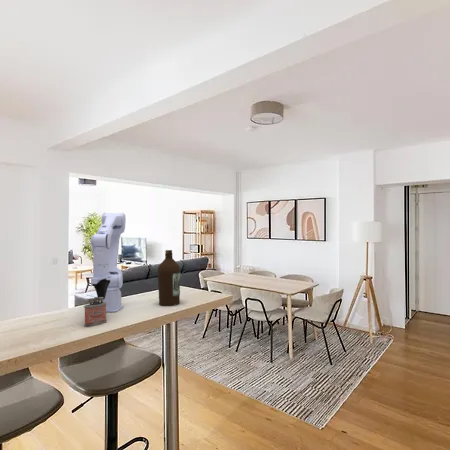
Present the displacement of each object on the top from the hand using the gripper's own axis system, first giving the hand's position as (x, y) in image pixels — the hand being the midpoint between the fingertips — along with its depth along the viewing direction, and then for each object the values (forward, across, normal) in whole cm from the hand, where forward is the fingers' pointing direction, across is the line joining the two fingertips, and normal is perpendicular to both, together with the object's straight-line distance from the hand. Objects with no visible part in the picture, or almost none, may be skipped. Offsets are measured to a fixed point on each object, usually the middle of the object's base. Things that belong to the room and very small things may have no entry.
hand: (101, 299), depth 124 cm
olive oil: (+8, +25, -22) cm, 34 cm away
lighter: (+8, -6, 0) cm, 10 cm away
